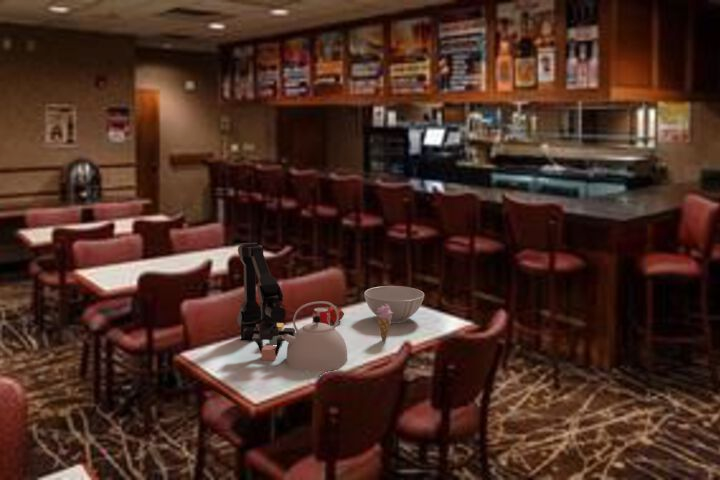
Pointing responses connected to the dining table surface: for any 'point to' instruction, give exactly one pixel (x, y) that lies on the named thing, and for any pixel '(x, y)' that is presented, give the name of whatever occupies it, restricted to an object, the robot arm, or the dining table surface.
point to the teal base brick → (274, 341)
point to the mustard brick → (280, 327)
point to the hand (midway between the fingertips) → (269, 355)
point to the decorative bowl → (395, 301)
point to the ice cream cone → (384, 320)
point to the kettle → (316, 345)
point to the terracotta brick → (269, 352)
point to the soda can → (322, 315)
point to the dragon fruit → (334, 314)
